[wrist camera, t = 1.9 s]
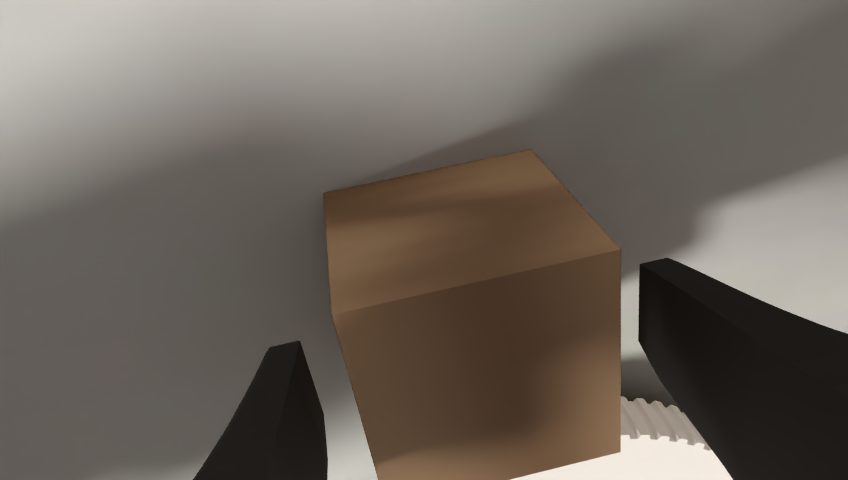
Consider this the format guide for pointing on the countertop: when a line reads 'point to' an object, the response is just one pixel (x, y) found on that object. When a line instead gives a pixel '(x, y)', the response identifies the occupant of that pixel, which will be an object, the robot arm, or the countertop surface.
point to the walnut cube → (477, 320)
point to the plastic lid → (648, 450)
